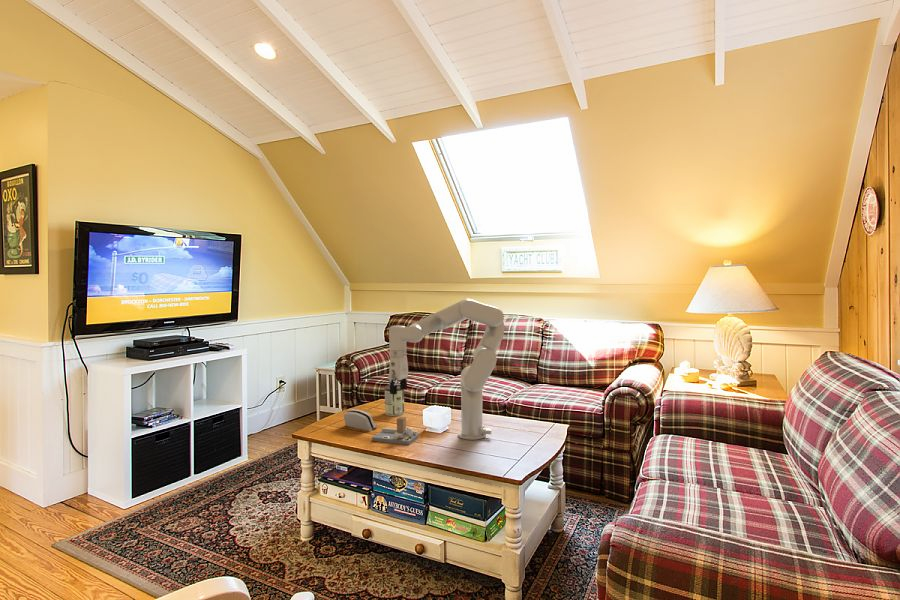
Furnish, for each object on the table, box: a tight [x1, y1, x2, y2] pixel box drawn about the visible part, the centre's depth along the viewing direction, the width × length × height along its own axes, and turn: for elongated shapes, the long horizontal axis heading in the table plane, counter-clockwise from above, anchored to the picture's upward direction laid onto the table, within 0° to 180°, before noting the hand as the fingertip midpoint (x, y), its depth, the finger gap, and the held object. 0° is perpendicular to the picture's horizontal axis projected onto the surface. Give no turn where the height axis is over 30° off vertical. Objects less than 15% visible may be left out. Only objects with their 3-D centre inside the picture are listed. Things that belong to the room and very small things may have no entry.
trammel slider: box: [394, 416, 407, 439], centre depth 219 cm, size 4×9×8 cm, turn 160°
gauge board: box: [371, 427, 419, 446], centre depth 221 cm, size 18×10×6 cm, turn 70°
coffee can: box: [384, 384, 405, 417], centre depth 263 cm, size 10×10×14 cm
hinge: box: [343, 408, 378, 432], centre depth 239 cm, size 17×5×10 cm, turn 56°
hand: (398, 391), depth 222 cm, fingers open, 9 cm apart
